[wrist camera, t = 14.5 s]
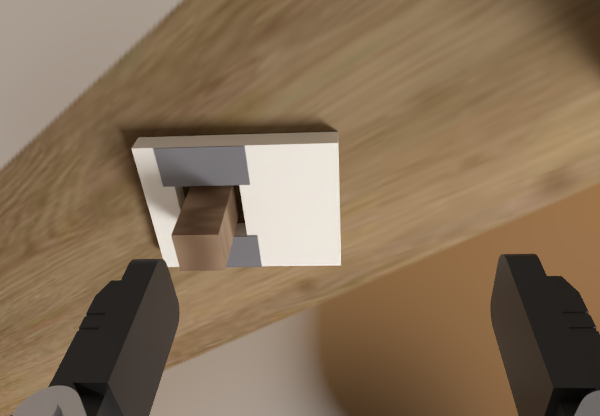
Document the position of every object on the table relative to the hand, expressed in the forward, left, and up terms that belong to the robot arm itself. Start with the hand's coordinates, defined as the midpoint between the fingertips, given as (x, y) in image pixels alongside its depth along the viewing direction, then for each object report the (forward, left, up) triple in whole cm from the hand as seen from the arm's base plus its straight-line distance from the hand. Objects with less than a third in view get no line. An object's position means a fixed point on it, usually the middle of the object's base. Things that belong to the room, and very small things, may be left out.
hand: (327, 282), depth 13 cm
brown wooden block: (+12, +20, -32) cm, 40 cm away
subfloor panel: (+9, +20, -32) cm, 39 cm away
